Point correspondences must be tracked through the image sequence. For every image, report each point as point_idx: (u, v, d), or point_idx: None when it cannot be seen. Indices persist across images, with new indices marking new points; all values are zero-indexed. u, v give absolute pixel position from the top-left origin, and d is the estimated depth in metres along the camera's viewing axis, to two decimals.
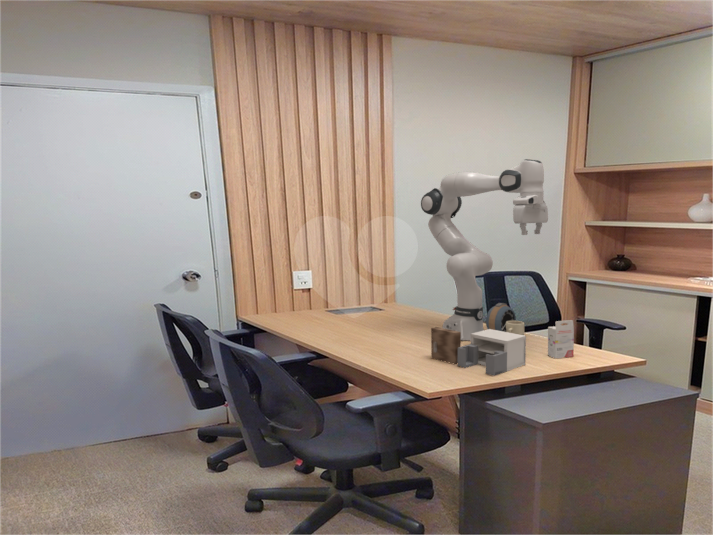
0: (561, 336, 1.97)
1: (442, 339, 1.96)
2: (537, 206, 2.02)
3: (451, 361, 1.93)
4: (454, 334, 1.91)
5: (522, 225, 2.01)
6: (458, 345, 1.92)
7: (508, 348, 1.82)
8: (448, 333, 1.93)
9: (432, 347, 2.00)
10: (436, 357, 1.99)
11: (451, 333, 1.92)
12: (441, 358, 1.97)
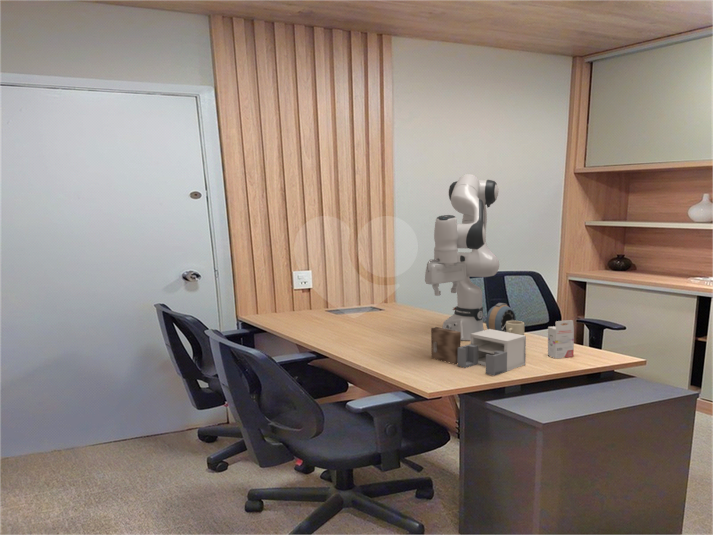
0: (561, 336, 1.97)
1: (442, 339, 1.96)
2: None
3: (451, 361, 1.93)
4: (454, 334, 1.91)
5: None
6: (458, 345, 1.92)
7: (508, 348, 1.82)
8: (448, 333, 1.93)
9: (432, 347, 2.00)
10: (436, 357, 1.99)
11: (451, 333, 1.92)
12: (441, 358, 1.97)
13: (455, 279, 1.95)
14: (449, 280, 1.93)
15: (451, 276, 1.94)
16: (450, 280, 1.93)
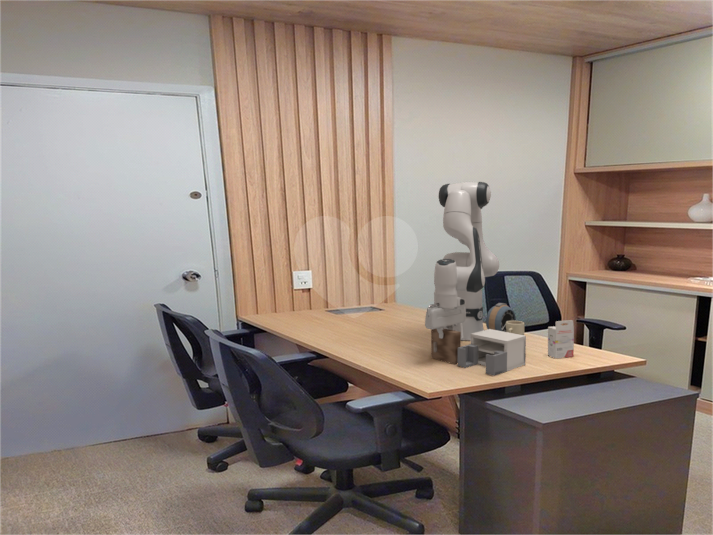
0: (561, 336, 1.97)
1: (442, 339, 1.96)
2: None
3: (451, 361, 1.93)
4: (454, 334, 1.91)
5: None
6: (458, 345, 1.92)
7: (508, 348, 1.82)
8: (448, 333, 1.93)
9: (432, 347, 2.00)
10: (436, 357, 1.99)
11: (451, 333, 1.92)
12: (441, 358, 1.97)
13: (455, 322, 1.97)
14: (449, 324, 1.95)
15: (451, 319, 1.95)
16: (450, 323, 1.95)
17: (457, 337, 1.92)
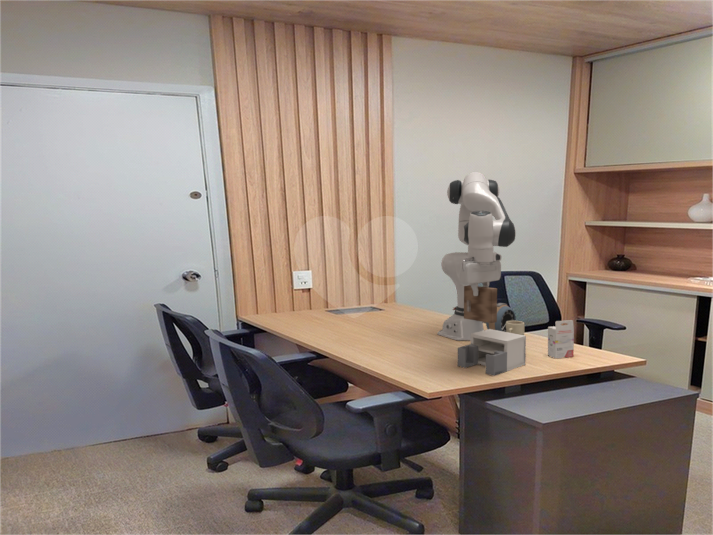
0: (561, 336, 1.97)
1: (476, 297, 1.82)
2: None
3: (487, 320, 1.79)
4: (490, 290, 1.77)
5: None
6: (494, 302, 1.78)
7: (508, 348, 1.82)
8: (483, 290, 1.79)
9: (465, 306, 1.86)
10: (469, 317, 1.85)
11: (487, 289, 1.78)
12: (475, 318, 1.83)
13: (490, 279, 1.83)
14: (484, 280, 1.81)
15: (486, 275, 1.81)
16: (485, 280, 1.81)
17: (494, 294, 1.78)
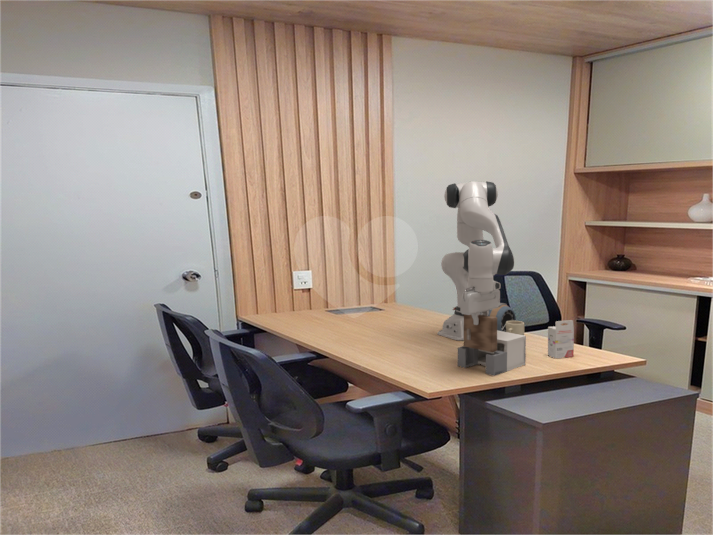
0: (561, 336, 1.97)
1: (477, 326, 1.83)
2: None
3: (487, 349, 1.80)
4: (491, 320, 1.78)
5: None
6: (495, 331, 1.80)
7: (508, 348, 1.82)
8: (484, 319, 1.80)
9: (465, 334, 1.87)
10: (469, 345, 1.86)
11: (487, 319, 1.79)
12: (475, 346, 1.84)
13: (489, 308, 1.84)
14: (484, 309, 1.82)
15: (486, 304, 1.82)
16: (485, 309, 1.82)
17: (494, 323, 1.79)
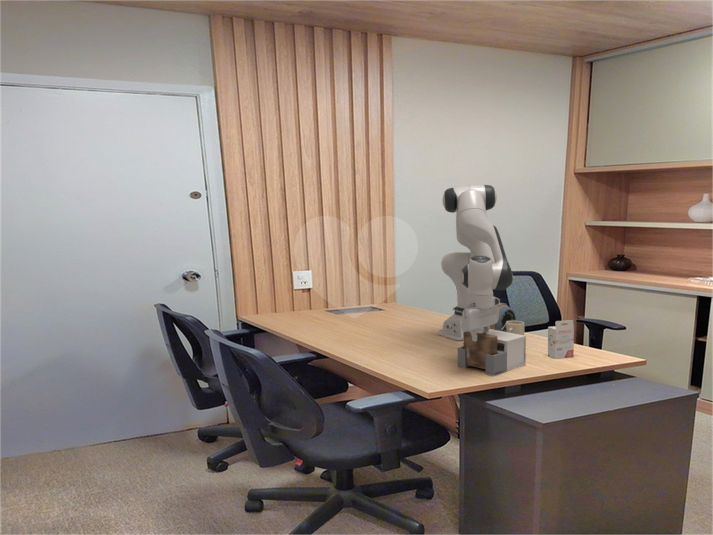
0: (561, 336, 1.97)
1: (477, 344, 1.84)
2: None
3: None
4: (491, 338, 1.79)
5: None
6: (495, 350, 1.81)
7: (508, 348, 1.82)
8: (484, 337, 1.81)
9: None
10: (469, 363, 1.86)
11: (488, 337, 1.80)
12: (475, 364, 1.85)
13: (489, 323, 1.85)
14: (484, 325, 1.82)
15: (486, 320, 1.83)
16: (485, 325, 1.83)
17: (494, 342, 1.80)
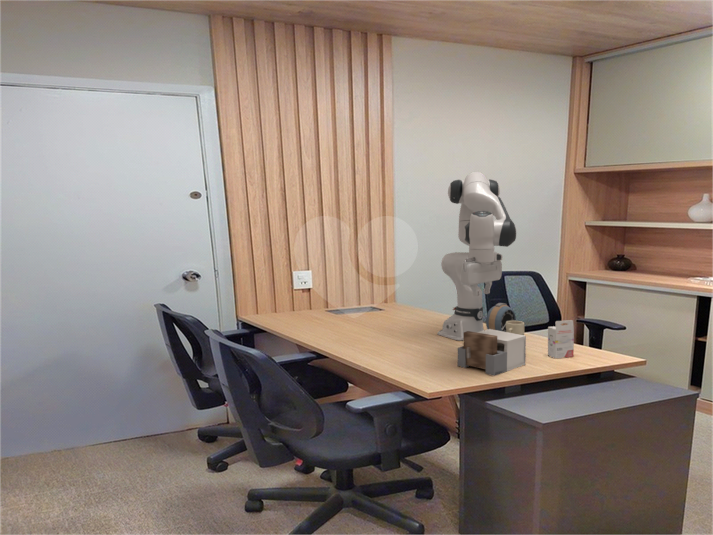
0: (561, 336, 1.97)
1: (477, 344, 1.84)
2: None
3: None
4: (491, 338, 1.79)
5: None
6: (495, 350, 1.81)
7: (508, 348, 1.82)
8: (484, 337, 1.81)
9: None
10: (469, 363, 1.86)
11: (488, 337, 1.80)
12: (475, 364, 1.85)
13: (491, 279, 1.84)
14: (485, 280, 1.82)
15: (487, 275, 1.83)
16: (486, 280, 1.83)
17: (494, 342, 1.80)
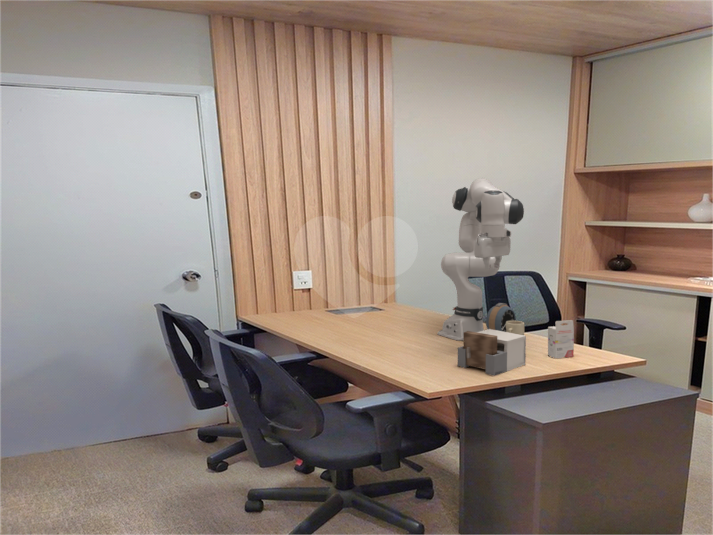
0: (561, 336, 1.97)
1: (477, 344, 1.84)
2: None
3: None
4: (491, 338, 1.79)
5: None
6: (495, 350, 1.81)
7: (508, 348, 1.82)
8: (484, 337, 1.81)
9: None
10: (469, 363, 1.86)
11: (488, 337, 1.80)
12: (475, 364, 1.85)
13: (501, 254, 1.98)
14: (496, 254, 1.96)
15: (498, 250, 1.97)
16: (497, 254, 1.97)
17: (494, 342, 1.80)
